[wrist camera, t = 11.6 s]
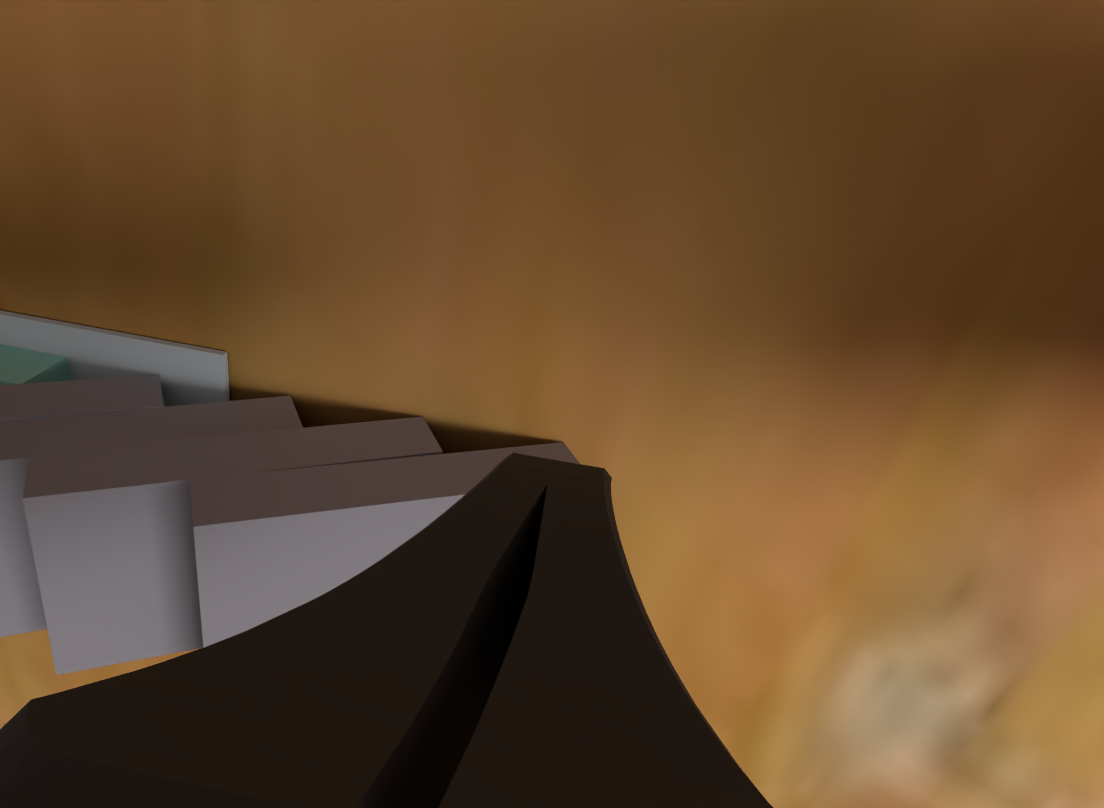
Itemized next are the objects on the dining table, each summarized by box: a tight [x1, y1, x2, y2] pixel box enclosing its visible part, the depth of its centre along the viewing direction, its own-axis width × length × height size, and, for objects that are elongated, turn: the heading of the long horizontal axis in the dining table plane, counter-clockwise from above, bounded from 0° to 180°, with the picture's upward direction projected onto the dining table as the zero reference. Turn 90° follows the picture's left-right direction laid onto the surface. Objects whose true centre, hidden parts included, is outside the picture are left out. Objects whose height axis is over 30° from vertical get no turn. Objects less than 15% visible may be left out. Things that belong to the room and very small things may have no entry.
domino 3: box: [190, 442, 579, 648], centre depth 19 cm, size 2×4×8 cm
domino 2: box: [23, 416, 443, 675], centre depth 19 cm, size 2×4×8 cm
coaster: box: [0, 310, 230, 407], centre depth 22 cm, size 6×6×1 cm
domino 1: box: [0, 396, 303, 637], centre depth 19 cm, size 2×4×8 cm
